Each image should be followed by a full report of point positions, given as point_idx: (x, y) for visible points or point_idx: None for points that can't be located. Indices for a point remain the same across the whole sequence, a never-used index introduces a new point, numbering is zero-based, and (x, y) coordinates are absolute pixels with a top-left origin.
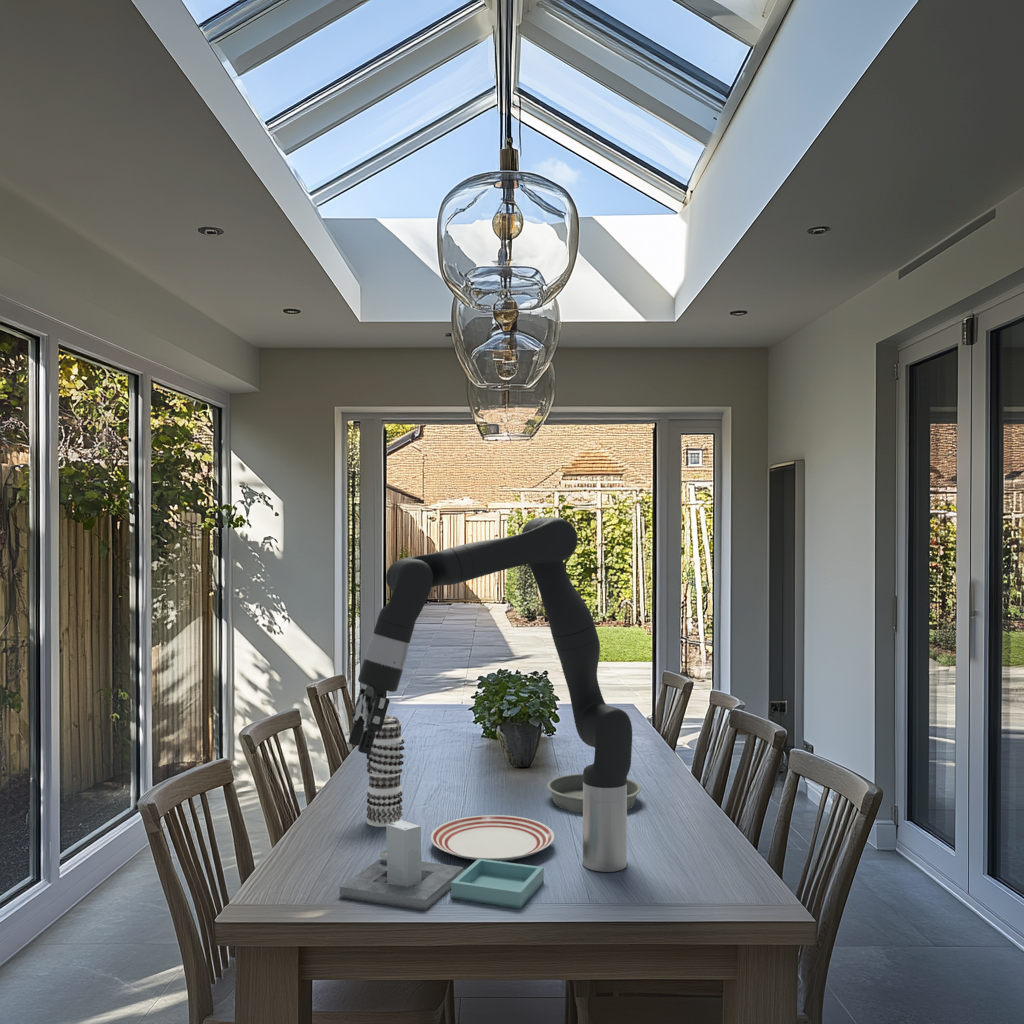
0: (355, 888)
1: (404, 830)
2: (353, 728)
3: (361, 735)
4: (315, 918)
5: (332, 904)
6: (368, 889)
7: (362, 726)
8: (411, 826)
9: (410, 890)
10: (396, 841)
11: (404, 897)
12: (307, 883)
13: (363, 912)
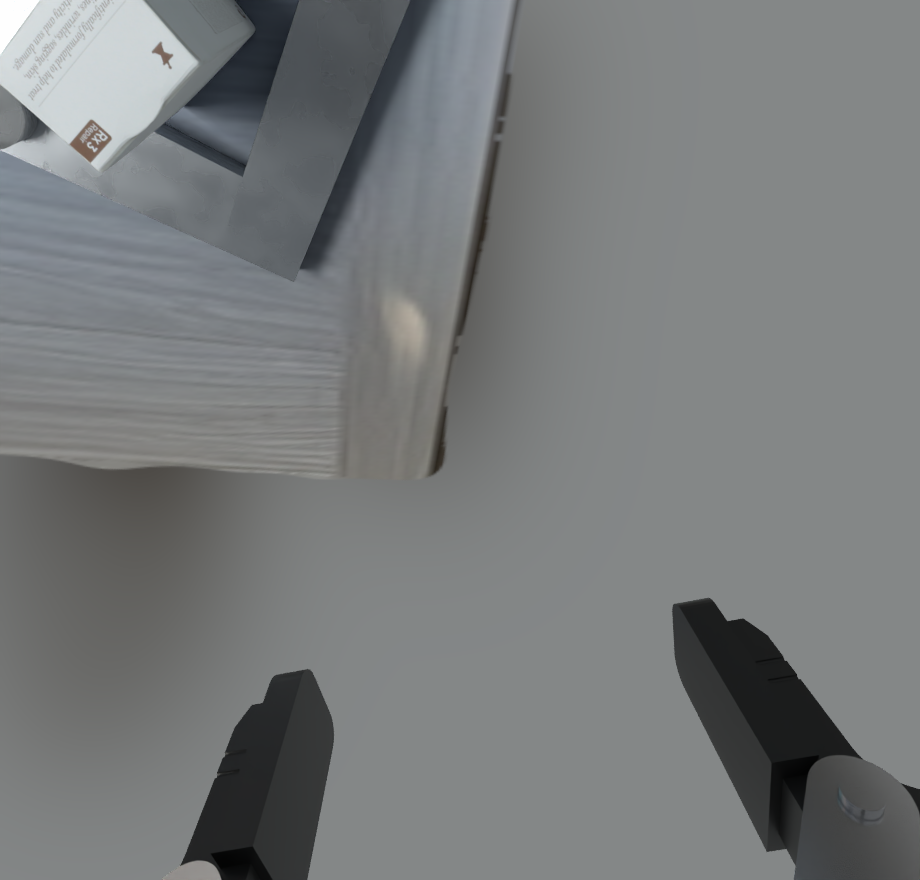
0: (309, 233)
1: (196, 67)
2: (305, 865)
3: (288, 752)
4: (436, 319)
5: (349, 285)
6: (319, 190)
7: (267, 861)
8: (118, 12)
9: (330, 17)
10: (176, 102)
11: (389, 50)
12: (196, 358)
13: (413, 196)
